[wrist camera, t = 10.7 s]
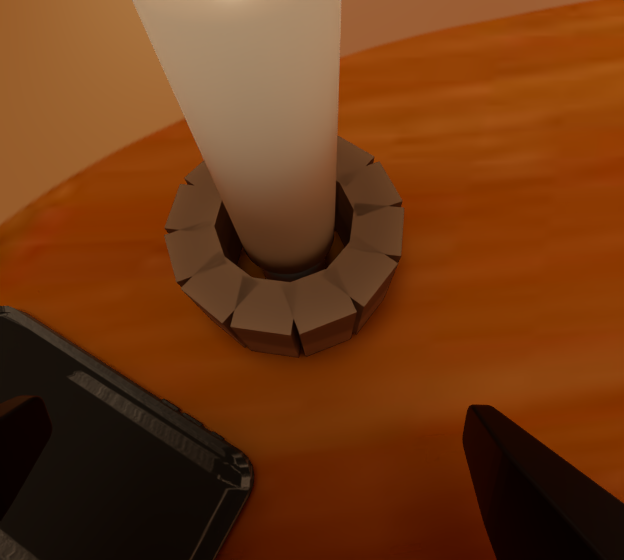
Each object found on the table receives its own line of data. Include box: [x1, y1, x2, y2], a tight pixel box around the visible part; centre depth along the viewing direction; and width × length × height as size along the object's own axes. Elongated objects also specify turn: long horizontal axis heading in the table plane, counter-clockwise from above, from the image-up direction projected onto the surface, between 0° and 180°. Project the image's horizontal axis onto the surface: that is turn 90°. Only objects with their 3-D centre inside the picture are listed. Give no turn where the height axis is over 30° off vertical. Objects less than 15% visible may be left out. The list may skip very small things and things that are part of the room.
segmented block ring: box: [164, 135, 404, 358], centre depth 17 cm, size 10×10×4 cm
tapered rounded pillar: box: [132, 0, 341, 282], centre depth 13 cm, size 4×4×13 cm
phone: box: [0, 306, 254, 560], centre depth 15 cm, size 8×1×15 cm
